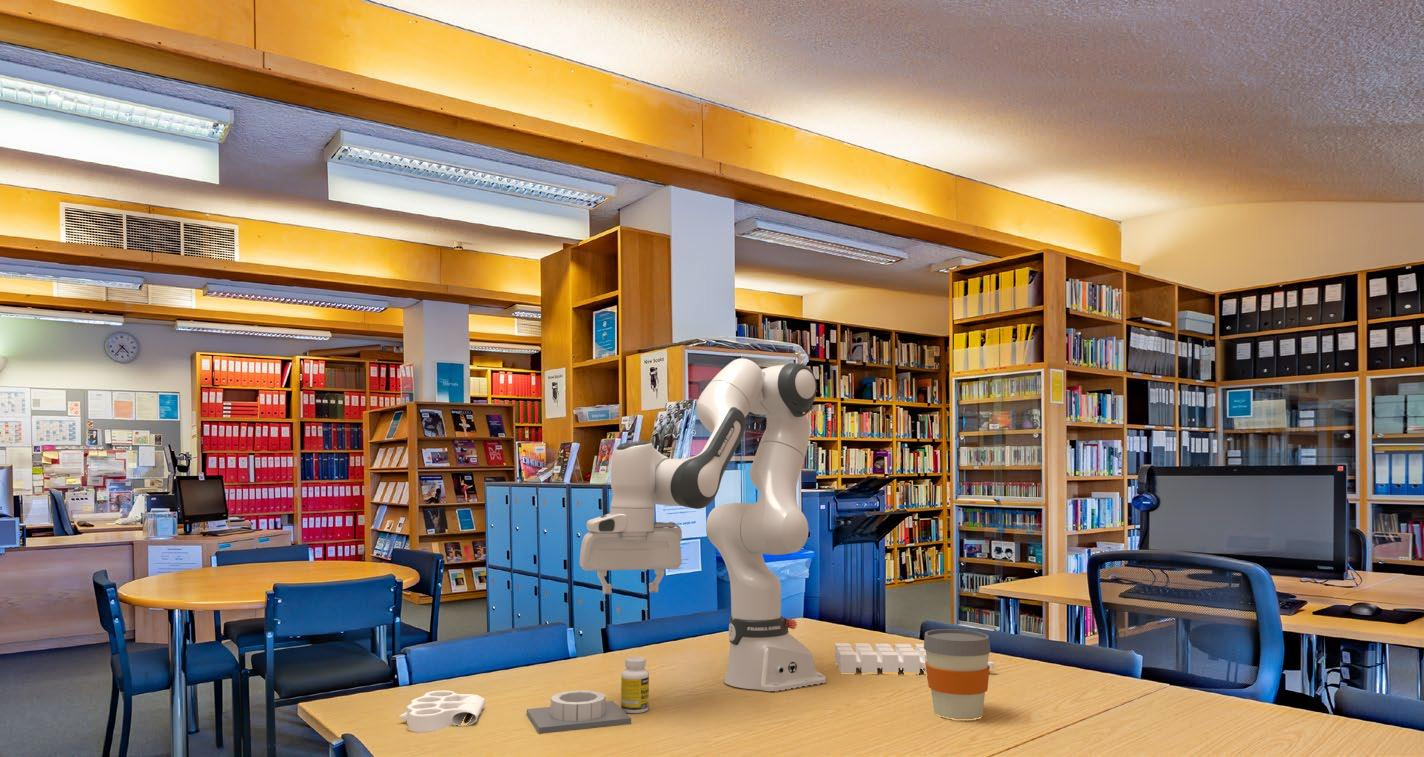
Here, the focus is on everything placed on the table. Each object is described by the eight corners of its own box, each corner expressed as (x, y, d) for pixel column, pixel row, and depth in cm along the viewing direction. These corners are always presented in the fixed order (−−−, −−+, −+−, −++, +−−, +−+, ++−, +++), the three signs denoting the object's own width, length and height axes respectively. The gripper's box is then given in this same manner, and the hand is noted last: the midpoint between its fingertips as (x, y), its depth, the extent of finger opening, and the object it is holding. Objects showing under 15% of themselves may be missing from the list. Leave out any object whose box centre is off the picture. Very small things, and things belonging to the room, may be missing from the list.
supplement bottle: (644, 714, 172) (644, 662, 173) (617, 713, 173) (617, 661, 174) (652, 707, 178) (652, 656, 178) (625, 705, 179) (626, 655, 180)
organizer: (835, 643, 219) (980, 644, 217) (835, 663, 218) (980, 665, 217) (840, 654, 206) (995, 656, 204) (840, 676, 205) (995, 678, 204)
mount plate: (612, 705, 178) (613, 685, 179) (631, 723, 166) (631, 701, 167) (526, 714, 172) (527, 693, 173) (539, 733, 160) (539, 710, 161)
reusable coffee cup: (993, 709, 177) (991, 631, 178) (991, 726, 165) (989, 643, 166) (928, 703, 181) (926, 627, 182) (921, 720, 169) (919, 638, 170)
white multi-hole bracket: (473, 733, 162) (389, 735, 160) (487, 706, 180) (411, 708, 178) (474, 713, 162) (390, 716, 161) (487, 689, 180) (412, 691, 178)
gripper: (677, 521, 185) (676, 589, 184) (579, 521, 179) (576, 592, 177) (686, 522, 180) (685, 593, 178) (585, 523, 173) (583, 596, 171)
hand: (630, 593), depth 178 cm, fingers open, 8 cm apart
